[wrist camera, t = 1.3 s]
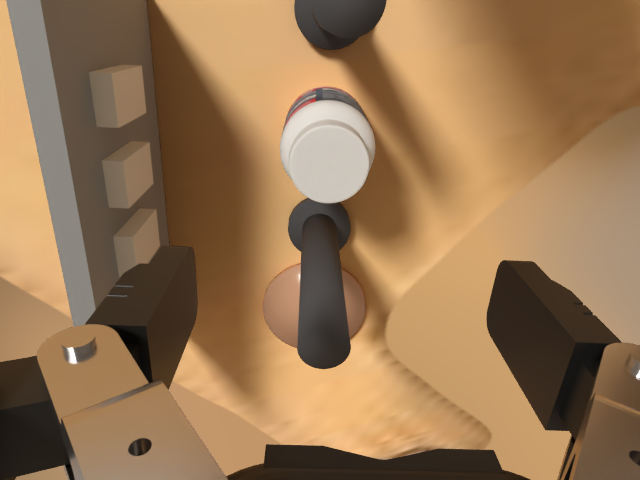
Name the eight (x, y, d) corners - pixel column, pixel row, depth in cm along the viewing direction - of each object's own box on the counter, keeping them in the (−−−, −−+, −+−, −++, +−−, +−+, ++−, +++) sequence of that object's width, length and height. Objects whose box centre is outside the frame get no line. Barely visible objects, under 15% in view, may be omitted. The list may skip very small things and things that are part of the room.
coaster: (263, 259, 35) (263, 261, 34) (369, 263, 35) (370, 266, 35) (263, 345, 38) (262, 348, 38) (360, 348, 38) (360, 351, 38)
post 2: (289, 194, 33) (275, 304, 20) (352, 197, 33) (377, 308, 20) (288, 250, 34) (274, 384, 22) (347, 253, 35) (367, 387, 22)
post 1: (296, -37, 27) (282, -90, 14) (372, -31, 27) (427, -79, 14) (293, 46, 28) (279, 66, 16) (365, 51, 29) (407, 73, 16)
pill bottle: (307, 70, 29) (306, 88, 21) (379, 109, 30) (404, 140, 22) (272, 145, 31) (258, 188, 23) (340, 178, 32) (350, 231, 24)
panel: (124, -14, 27) (-2, -38, 16) (162, -11, 27) (63, -34, 16) (159, 306, 36) (94, 427, 25) (187, 307, 36) (135, 428, 25)
